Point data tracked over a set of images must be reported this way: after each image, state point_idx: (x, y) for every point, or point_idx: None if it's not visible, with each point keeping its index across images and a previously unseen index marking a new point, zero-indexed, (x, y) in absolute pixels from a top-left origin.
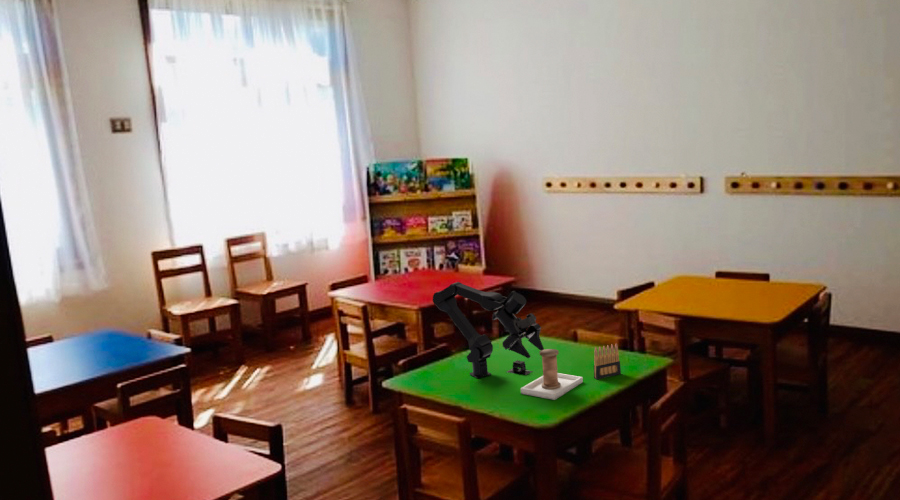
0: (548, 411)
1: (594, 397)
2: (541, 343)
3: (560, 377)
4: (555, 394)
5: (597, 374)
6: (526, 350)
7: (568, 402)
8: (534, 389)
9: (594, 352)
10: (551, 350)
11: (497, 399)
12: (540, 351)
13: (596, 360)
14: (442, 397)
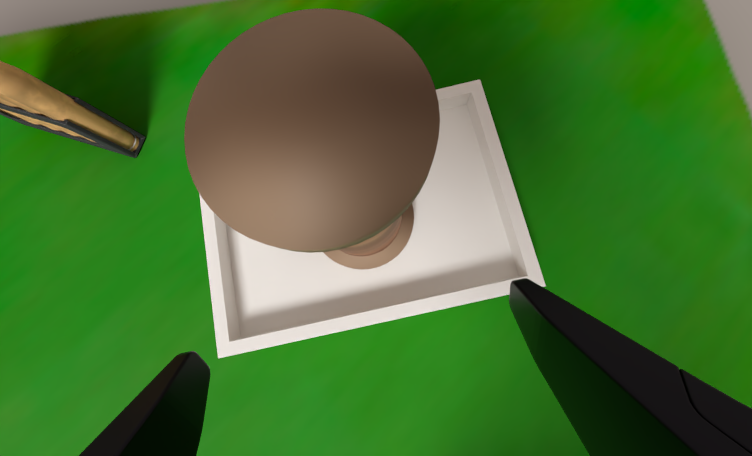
0: (586, 26)
1: (334, 2)
2: (96, 445)
3: (231, 273)
4: (467, 84)
5: (120, 122)
6: (593, 346)
7: (450, 37)
8: (455, 254)
9: None
10: (248, 132)
11: (687, 324)
12: (370, 218)
13: (32, 76)
14: None
